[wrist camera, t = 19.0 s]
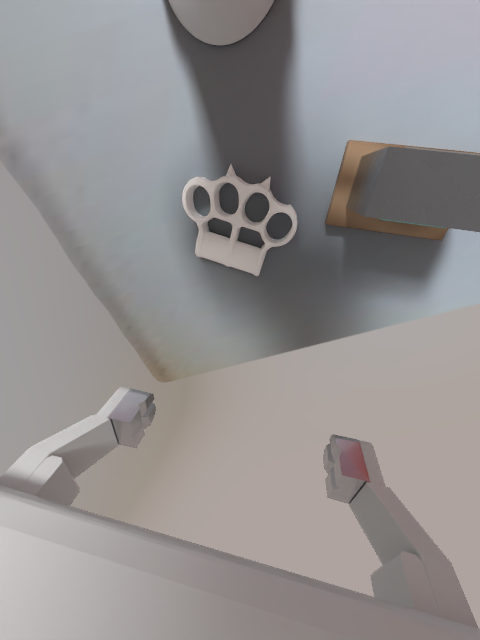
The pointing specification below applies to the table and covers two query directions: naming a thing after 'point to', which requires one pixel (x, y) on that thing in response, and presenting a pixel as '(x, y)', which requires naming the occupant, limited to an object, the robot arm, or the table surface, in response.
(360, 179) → the panel
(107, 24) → the table surface
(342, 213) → the board
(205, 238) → the white brass knuckles
